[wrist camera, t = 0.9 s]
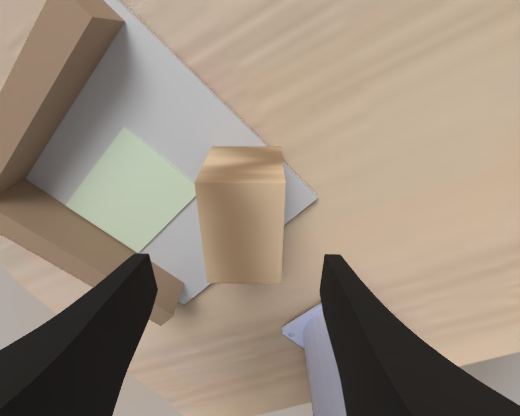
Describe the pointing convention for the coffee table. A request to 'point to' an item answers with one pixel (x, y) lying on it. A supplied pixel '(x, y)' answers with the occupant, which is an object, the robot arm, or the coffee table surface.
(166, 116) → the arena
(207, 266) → the oak block
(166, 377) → the coffee table surface
